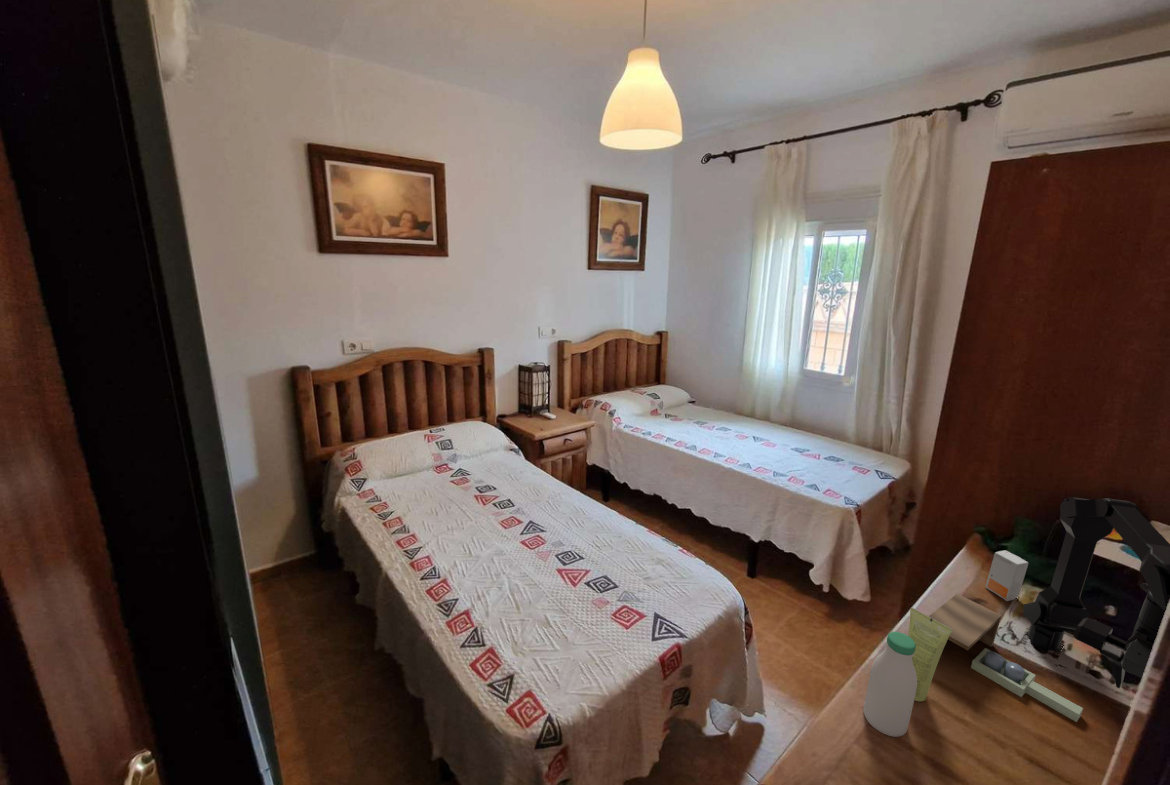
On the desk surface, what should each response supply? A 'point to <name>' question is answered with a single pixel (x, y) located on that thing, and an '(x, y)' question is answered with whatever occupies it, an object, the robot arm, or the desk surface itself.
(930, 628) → the tube
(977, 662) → the tray
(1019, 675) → the grey rounded lump
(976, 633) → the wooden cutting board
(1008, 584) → the skincare box
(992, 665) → the grey rounded lump
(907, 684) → the milk bottle
